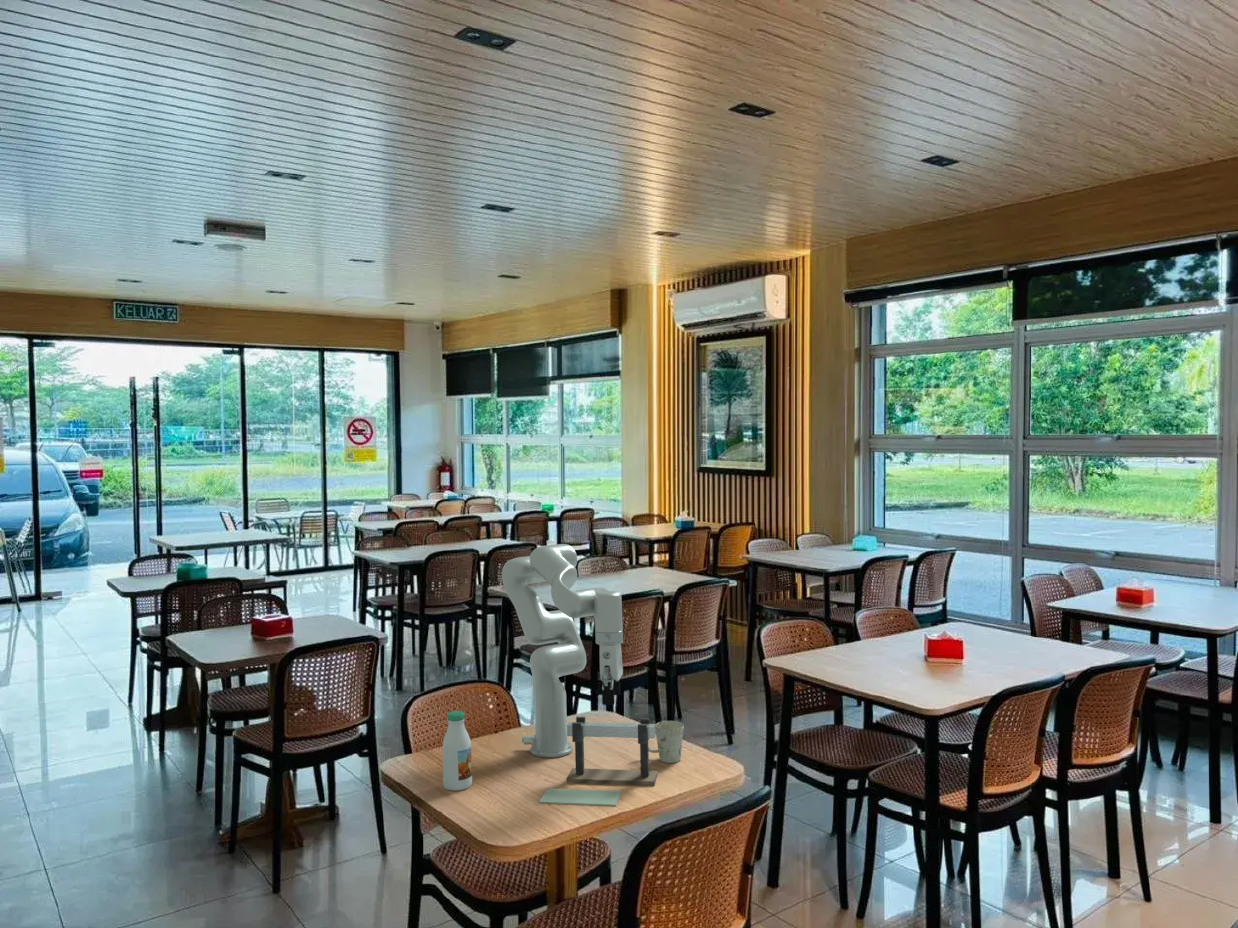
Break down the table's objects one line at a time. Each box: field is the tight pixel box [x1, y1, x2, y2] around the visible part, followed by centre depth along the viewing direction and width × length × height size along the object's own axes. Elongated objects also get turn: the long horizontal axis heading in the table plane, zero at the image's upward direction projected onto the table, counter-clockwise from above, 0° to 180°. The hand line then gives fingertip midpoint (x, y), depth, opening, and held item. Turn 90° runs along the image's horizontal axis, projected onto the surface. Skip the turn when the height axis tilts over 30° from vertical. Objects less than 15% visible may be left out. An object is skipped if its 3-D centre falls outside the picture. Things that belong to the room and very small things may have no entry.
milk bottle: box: [442, 710, 473, 792], centre depth 248 cm, size 8×8×20 cm
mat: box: [538, 788, 623, 807], centre depth 238 cm, size 20×9×1 cm, turn 81°
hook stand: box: [565, 716, 659, 787], centre depth 251 cm, size 24×8×16 cm, turn 81°
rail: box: [567, 721, 656, 739], centre depth 250 cm, size 24×3×3 cm, turn 81°
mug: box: [648, 720, 685, 764], centre depth 266 cm, size 8×13×10 cm, turn 79°
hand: (611, 699), depth 250 cm, fingers open, 9 cm apart
